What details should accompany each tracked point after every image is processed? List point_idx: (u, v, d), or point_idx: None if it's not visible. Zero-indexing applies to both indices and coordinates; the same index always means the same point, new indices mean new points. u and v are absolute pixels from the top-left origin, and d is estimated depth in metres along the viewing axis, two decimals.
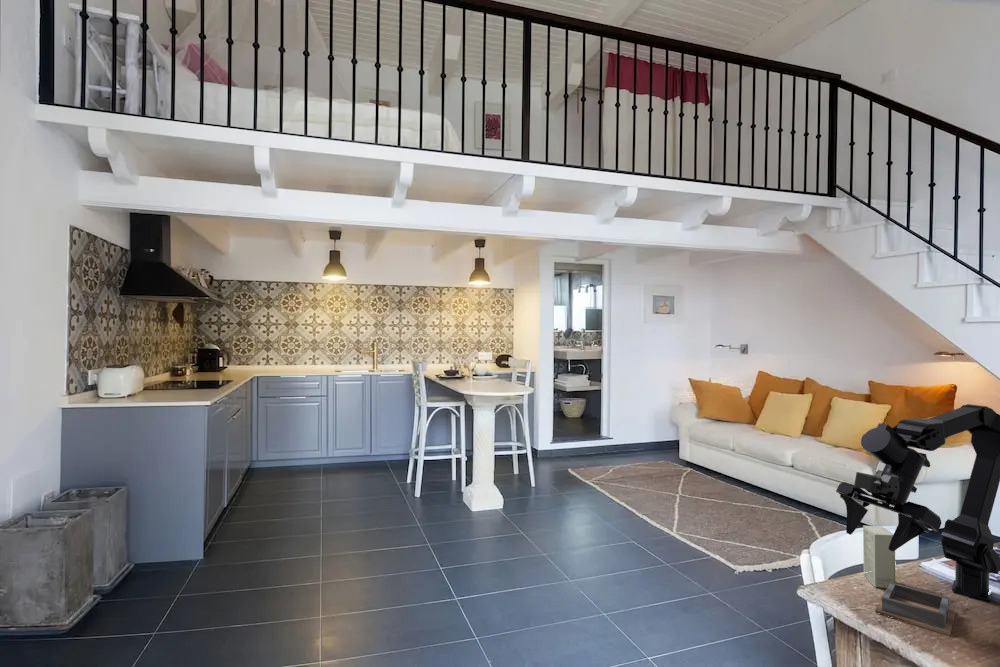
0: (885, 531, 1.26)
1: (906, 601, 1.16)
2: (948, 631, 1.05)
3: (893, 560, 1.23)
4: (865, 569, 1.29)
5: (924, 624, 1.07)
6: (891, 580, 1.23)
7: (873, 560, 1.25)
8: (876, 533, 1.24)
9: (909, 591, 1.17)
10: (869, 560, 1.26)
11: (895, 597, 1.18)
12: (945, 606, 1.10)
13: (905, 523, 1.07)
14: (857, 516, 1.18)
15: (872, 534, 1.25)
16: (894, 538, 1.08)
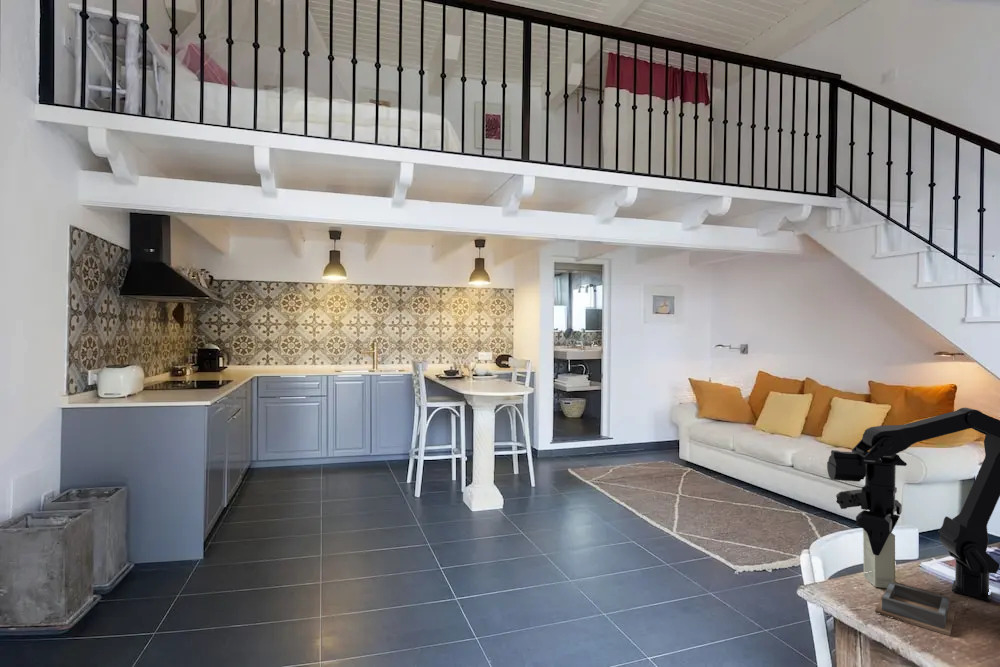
0: None
1: (906, 601, 1.16)
2: (948, 631, 1.05)
3: (893, 560, 1.23)
4: (865, 569, 1.29)
5: (924, 624, 1.07)
6: (891, 580, 1.23)
7: (873, 560, 1.25)
8: None
9: (909, 591, 1.17)
10: (869, 560, 1.26)
11: (895, 597, 1.18)
12: (945, 606, 1.10)
13: None
14: None
15: None
16: None
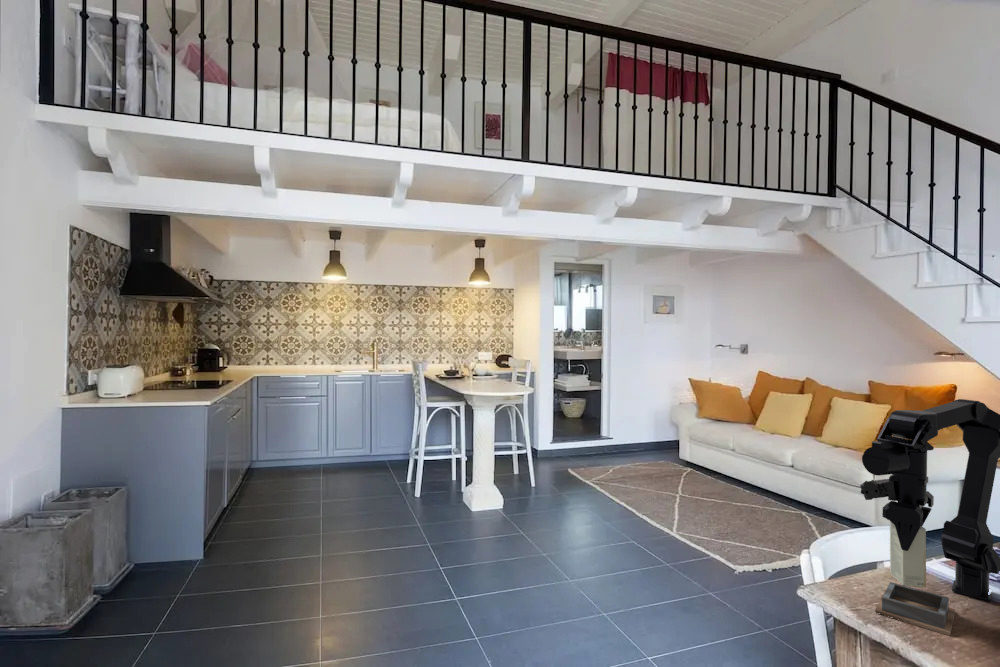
0: None
1: (906, 601, 1.16)
2: (948, 631, 1.05)
3: (923, 556, 1.12)
4: (892, 566, 1.17)
5: (924, 624, 1.07)
6: (921, 578, 1.12)
7: (901, 556, 1.14)
8: None
9: (909, 591, 1.17)
10: (897, 556, 1.15)
11: (895, 597, 1.18)
12: (945, 606, 1.10)
13: None
14: None
15: None
16: None
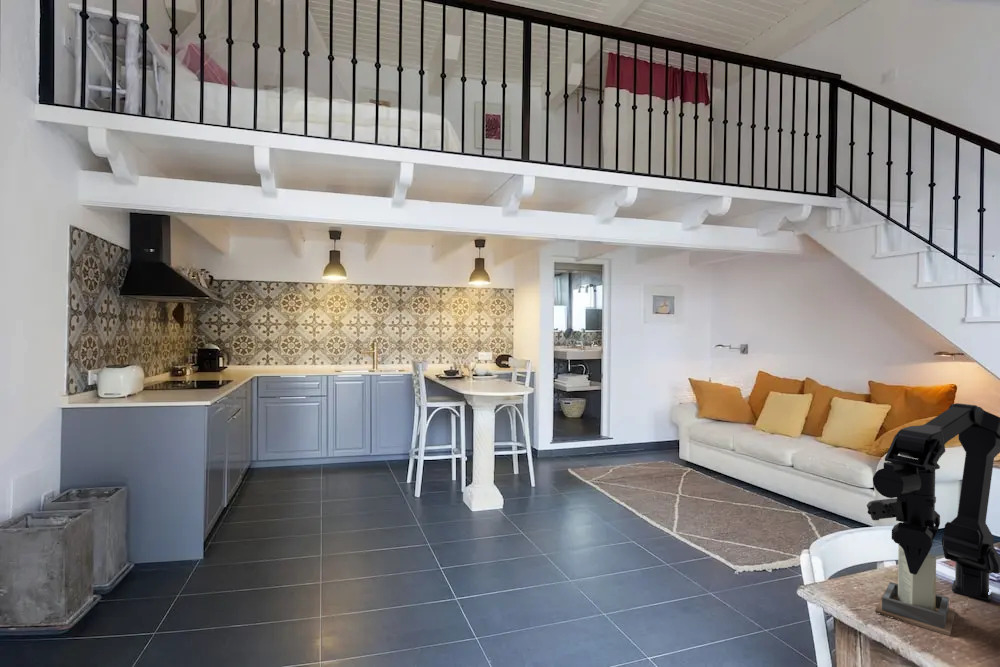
0: None
1: None
2: (948, 631, 1.05)
3: (933, 586, 1.10)
4: (900, 594, 1.15)
5: (924, 624, 1.07)
6: (930, 608, 1.10)
7: (910, 585, 1.11)
8: None
9: None
10: (905, 584, 1.13)
11: (895, 597, 1.18)
12: (945, 606, 1.10)
13: None
14: None
15: None
16: (907, 561, 1.10)
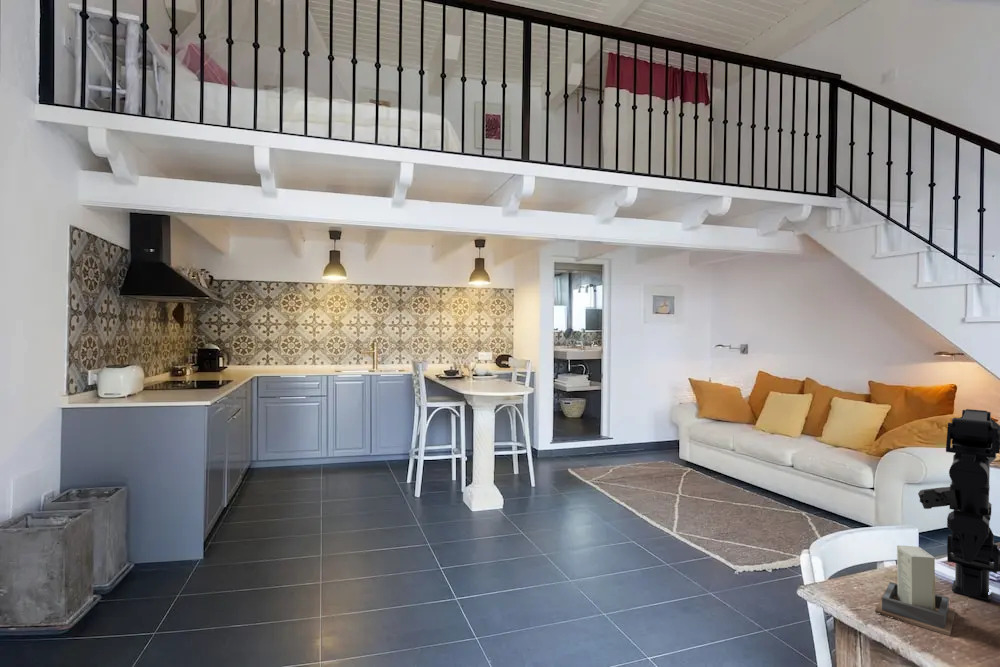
0: (923, 552, 1.12)
1: None
2: (948, 631, 1.05)
3: (932, 585, 1.10)
4: (900, 594, 1.15)
5: (924, 624, 1.07)
6: (930, 608, 1.10)
7: (910, 585, 1.11)
8: (914, 555, 1.11)
9: None
10: (905, 585, 1.13)
11: (895, 597, 1.18)
12: (945, 606, 1.10)
13: None
14: None
15: (908, 556, 1.12)
16: (961, 549, 1.10)
